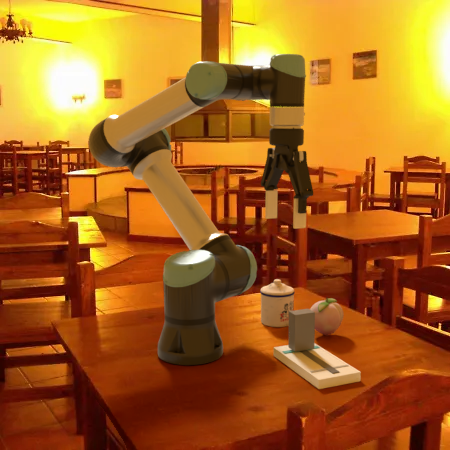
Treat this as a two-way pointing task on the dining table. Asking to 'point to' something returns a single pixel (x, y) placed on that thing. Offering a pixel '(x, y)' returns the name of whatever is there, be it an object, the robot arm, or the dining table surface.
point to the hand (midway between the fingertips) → (284, 223)
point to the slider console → (318, 366)
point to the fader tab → (301, 329)
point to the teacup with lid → (276, 304)
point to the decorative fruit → (327, 316)
